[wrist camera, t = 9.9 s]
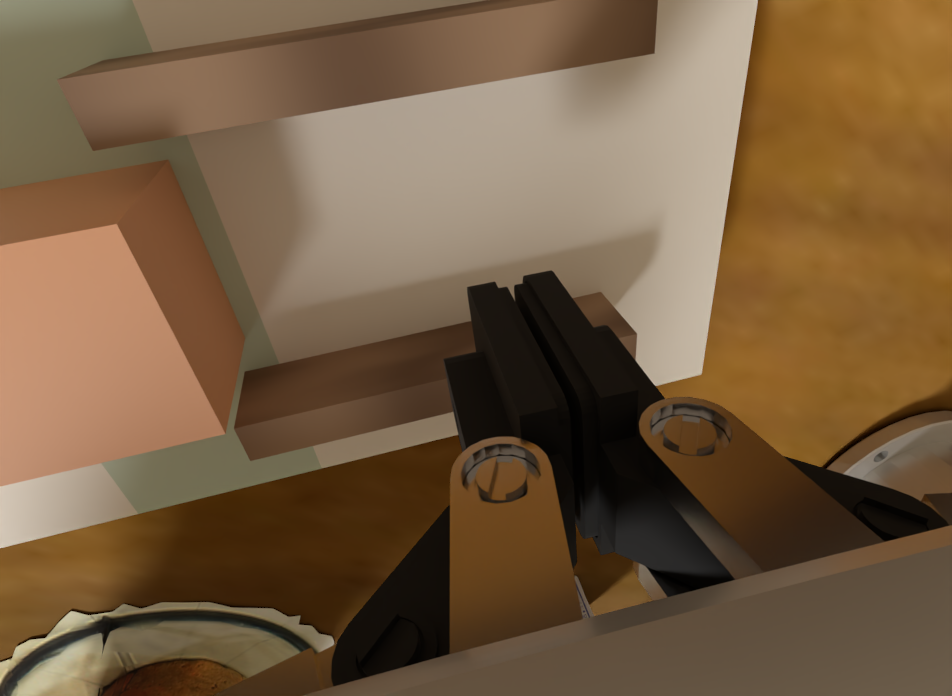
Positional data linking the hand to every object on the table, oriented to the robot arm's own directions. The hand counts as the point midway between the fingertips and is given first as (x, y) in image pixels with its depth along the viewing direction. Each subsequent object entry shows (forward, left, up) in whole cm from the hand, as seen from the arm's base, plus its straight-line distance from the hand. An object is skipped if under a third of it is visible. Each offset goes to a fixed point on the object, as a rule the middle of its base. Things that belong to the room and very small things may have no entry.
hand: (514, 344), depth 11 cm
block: (+9, -1, -5) cm, 10 cm away
